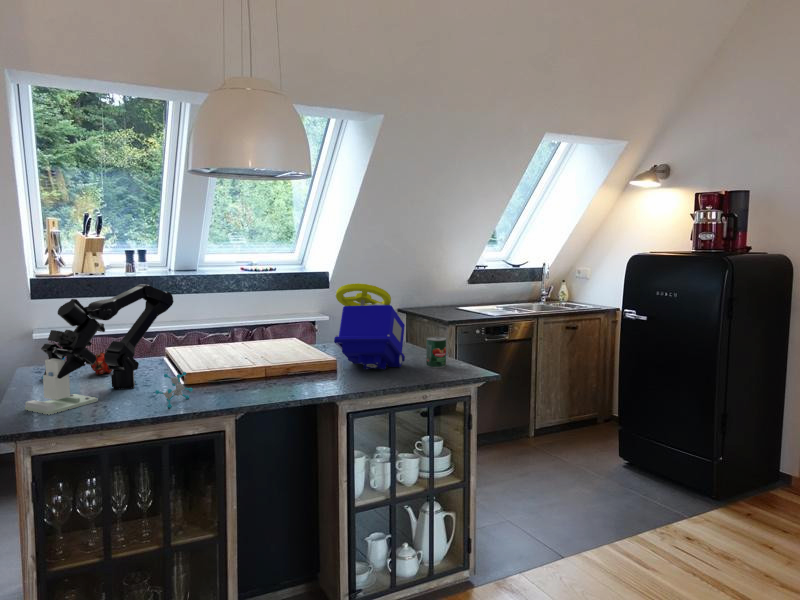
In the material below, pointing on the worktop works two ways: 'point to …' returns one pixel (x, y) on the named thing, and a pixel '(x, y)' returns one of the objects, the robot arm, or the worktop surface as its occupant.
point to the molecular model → (177, 391)
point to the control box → (370, 328)
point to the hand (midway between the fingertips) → (51, 376)
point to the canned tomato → (436, 352)
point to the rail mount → (59, 404)
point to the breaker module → (55, 380)
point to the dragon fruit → (100, 365)
